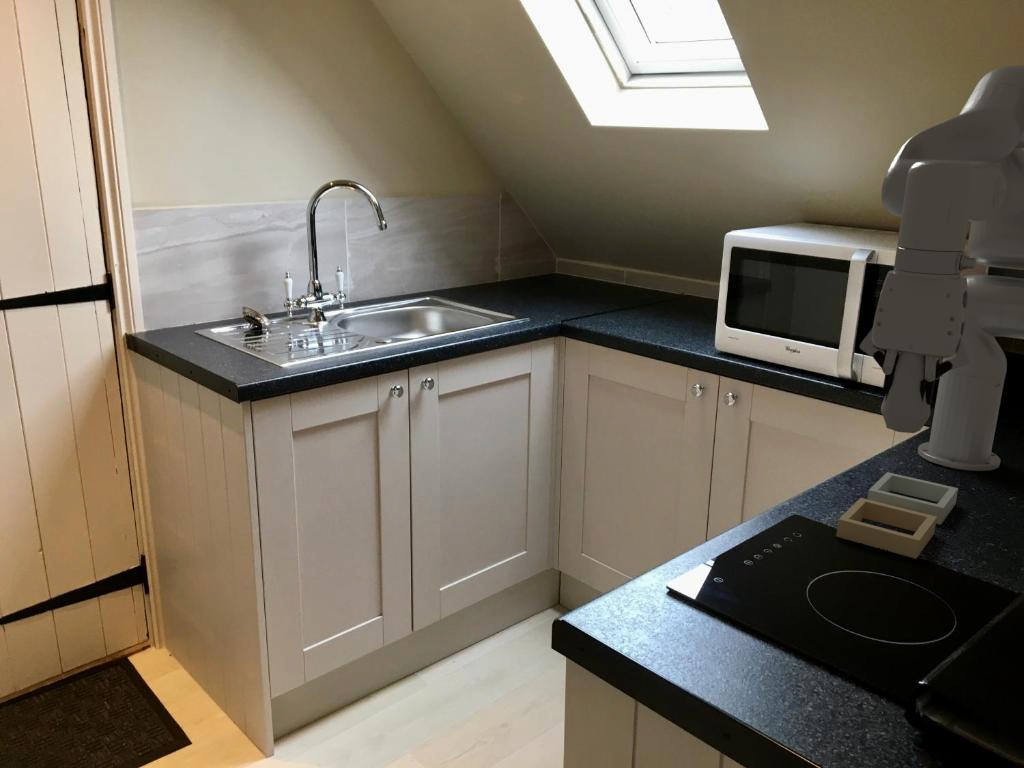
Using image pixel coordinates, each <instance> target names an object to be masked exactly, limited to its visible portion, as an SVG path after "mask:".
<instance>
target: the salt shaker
mask: <svg viewBox="0 0 1024 768" xmlns="http://www.w3.org/2000/svg"><path fill="white" fill-rule="evenodd" d="M909 347H910V349H911V350H912V349H913V344H912V343H911V345H910V346H909ZM925 363H926V356H922V355H915V354H908V353H902V352H901V353H900V356H899V359H898V362H897V364H896V367H895V372H894V378H893V383H892V386H891V388H890V390H889V393H888V396H887V399H886V395H885V397H884V398H883V401H882V403H881V406H880V412H881V415H882V417H883V420H884V423H885V425H886V429H889V430H892V431H894V432H898V433H907V434H908V433H909V434H915V433H918V432H920V431H921V430H922V429H923V427H924V425H925V424H926V423H927V421H928V419H929V418H930V417H931V404H930V405H928V404H927V402H926V392H925V394H924V398H923V402H922V399H921V394H920V385H921V380H925V377H924V375H925ZM886 394H887V393H886ZM885 401H886V402H885Z"/></svg>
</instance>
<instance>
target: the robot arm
mask: <svg viewBox="0 0 1024 768" xmlns="http://www.w3.org/2000/svg"><path fill="white" fill-rule="evenodd" d="M1023 149H1024V64H1022V65H1021V64H1020V65H1016V64H1015V65H1009V66H1001V67H998V68H996V69H993V70H991V71H989V72H988V73H986V74H985V75H984V76H983V77H982V78H981V79H980V80H979V81H978V83H977V84H976V85H975V87H974V89H973V90H972V93H971V94H970V96H969V97H968V99H967V101H966V103H965V104H964V105H963V108H962V109H961V111H960V113H959V114H958V115H955V116H954V117H952V118H948V119H945V120H944V121H942V122H939V123H937V124H935V125H933V126H931V127H929V128H926V129H923V130H922V131H920V132H918V133H917V134H915V135H913V136H912V137H910V138H909V139H908V140H907V141H906V142H904V144H903V145H902V146H901V147H900V149H899V150H898V152H897V153H896V154H895V156H894V158H893V159H892V162H891V163H890V165H889V166H888V169H887V171H886V174H885V175H884V178H883V180H882V184H881V189H880V190H881V193H880V195H881V202H882V205H883V208H884V209H885V210H886V211H887V212H888V213H889V214H890V215H893V216H896V217H899V218H900V224H899V231H898V232H899V233H898V238H897V245H896V246H897V247H896V252H895V258H894V264H893V270H889V271H887V274H886V277H885V279H884V282H883V285H882V288H881V292H880V295H879V299H878V302H877V306H876V310H875V315H874V319H873V326H872V328H871V329H870V331H869V332H868V333H867V335H866V336H865V337H864V338H863V340H862V341H861V343H860V344H859V349H860V350H862V352H864V353H866V354H867V355H868V356H869V357H872V358H873V359H874V361H875V362H876V363H877V364H878V366H879V367H880V368H881V370H882V373H883V374H884V380H883V385H882V392H881V393H882V394H881V396H882V397H884V398H885V395H886V399H887V396H888V393H889V390H890V388H891V386H892V383H893V378H894V372H895V367H896V364H897V362H898V359H899V356H900V353H901V352H902V353H908V354H915V355H922V356H926V363H925V375H924V377H925V380H921V385H920V394H921V399H922V402H923V398H924V394H925V392H926V402H927V404H928V405H930V406H931V405H932V403H933V399H934V392H935V385H936V381H937V379H938V378H939V382H938V387H937V393H936V400H935V405H934V411H933V412H934V413H933V418H932V424H931V431H930V436H929V437H930V438H929V441H926V442H924V443H921V444H919V446H918V447H917V454H918V455H919V456H920V457H921V458H922V459H925V460H926V461H928V462H930V463H933V464H936V465H940V466H943V467H946V468H951V469H957V470H962V471H973V472H987V471H993V470H996V469H998V468H999V467H1000V466H1001V465H1000V464H1001V458H1000V457H999V456H998V455H997V454H996V453H994V452H992V448H993V444H994V438H995V432H996V427H997V422H998V417H999V412H1000V411H999V410H1000V406H1001V401H1002V394H1003V390H1004V385H1005V378H1006V375H1007V371H1008V370H1007V369H1008V368H1007V367H1008V364H1007V363H1008V362H1007V358H1006V355H1005V352H1004V351H1003V349H1002V347H1001V346H1000V344H999V343H998V342H997V340H996V337H1005V338H1013V339H1020V340H1024V278H1017V277H1011V276H1004V275H1003V276H1000V275H991V274H969V275H965V276H961V273H962V272H963V271H964V270H968V269H969V270H975V267H976V264H977V265H981V266H986V267H992V268H1000V269H1010V270H1011V269H1012V270H1021V271H1022V270H1023V271H1024V150H1023ZM970 222H971V224H970V230H969V235H968V229H969V223H970ZM967 235H968V243H967V252H968V253H967V254H968V255H967V254H966V251H965V248H966V247H965V246H966V242H967ZM911 343H912V344H913V349H912V350H911V349H910V347H909V346H910V345H911ZM941 361H942V362H941ZM886 393H887V394H886ZM885 402H886V401H885Z"/></svg>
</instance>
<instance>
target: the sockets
mask: <svg viewBox="0 0 1024 768" xmlns="http://www.w3.org/2000/svg"><path fill="white" fill-rule="evenodd" d="M958 491H959V488H958V487H954V486H949V485H944V484H941V483H937V482H933V481H928V480H923V479H918V478H914V477H912V476H911V477H910V476H905V475H901V474H896V473H892V472H888V471H887V472H885V473H884V474H883V476H881V477H880V478H879V479H878V480H877V481H876V482H875V483H874V484H873V485H872V486H871V487H870V488H869V489H868V492H867V498H863V497H860V498H859V499H858V500H857V501H856V502H855V503H853V504H852V505H851V506H850V507H849V508H848V509H847V511H845V513H843V514H842V515H841V516H840V517H839V518H838V520H837V526H836V527H837V529H836V537H837V538H840V539H844V540H847V541H850V542H851V541H852V542H854V543H858V544H861V543H862V544H861V545H866V546H870V547H872V548H876V549H879V548H880V550H883V549H884V550H883V551H887V550H888V552H891V553H894V554H898V555H901V556H905V557H908V558H912V559H917V558H918V557H919V556H920V554H921V553H922V551H923V550H924V548H925V547H926V546H927V544H928V543H929V542H930V540H932V537H933V536H934V535H935V530H936V525H940V526H941V525H942V524H943V523H944V521H945V520H946V519H947V517H948V515H949V514H950V513H951V511H952V510H953V508H954V507H955V505H956V503H957V498H958ZM893 492H894V493H893ZM897 492H898V493H899V494H897ZM900 494H901V495H900ZM902 494H903V495H902ZM905 495H906V496H905ZM909 496H911V497H909ZM913 497H914V498H913ZM921 499H924V500H921ZM926 500H927V501H926ZM929 501H931V502H929ZM933 502H934V503H933ZM864 519H866V520H868V521H869V520H870V521H872V522H877V523H880V524H885V525H888V526H892V527H897V528H899V529H904V530H907V531H911V532H914V533H913V535H912V534H907V533H904V532H899V531H896V530H893V529H888V528H884V527H881V526H877V525H873V524H869V523H866V522H862V521H863V520H864Z"/></svg>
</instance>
